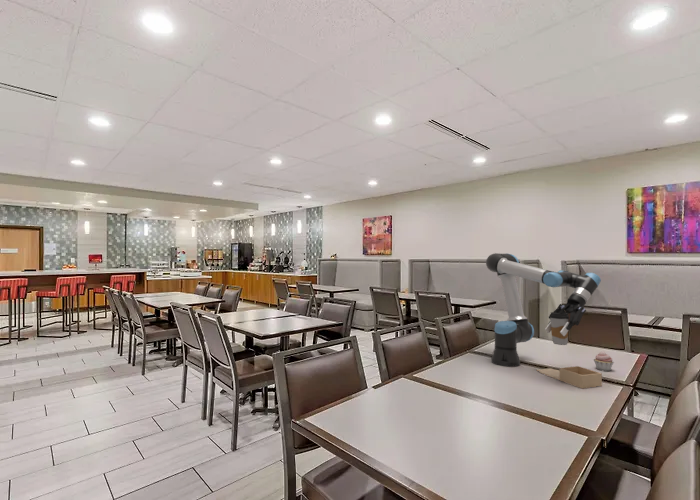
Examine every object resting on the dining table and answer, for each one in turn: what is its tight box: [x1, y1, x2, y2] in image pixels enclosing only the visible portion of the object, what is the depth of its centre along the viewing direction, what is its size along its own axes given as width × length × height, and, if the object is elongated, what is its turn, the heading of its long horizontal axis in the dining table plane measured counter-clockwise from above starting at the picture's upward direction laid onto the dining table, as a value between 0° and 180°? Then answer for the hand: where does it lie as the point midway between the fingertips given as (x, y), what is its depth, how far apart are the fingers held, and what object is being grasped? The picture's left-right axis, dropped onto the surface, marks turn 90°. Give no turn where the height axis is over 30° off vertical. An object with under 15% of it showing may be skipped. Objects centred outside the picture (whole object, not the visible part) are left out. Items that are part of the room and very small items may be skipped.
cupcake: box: [592, 351, 615, 372], centre depth 198 cm, size 9×9×10 cm
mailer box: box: [536, 365, 603, 390], centre depth 182 cm, size 28×12×6 cm, turn 18°
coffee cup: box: [549, 311, 570, 346], centre depth 178 cm, size 8×8×15 cm
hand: (554, 332), depth 176 cm, fingers closed on coffee cup, 8 cm apart
